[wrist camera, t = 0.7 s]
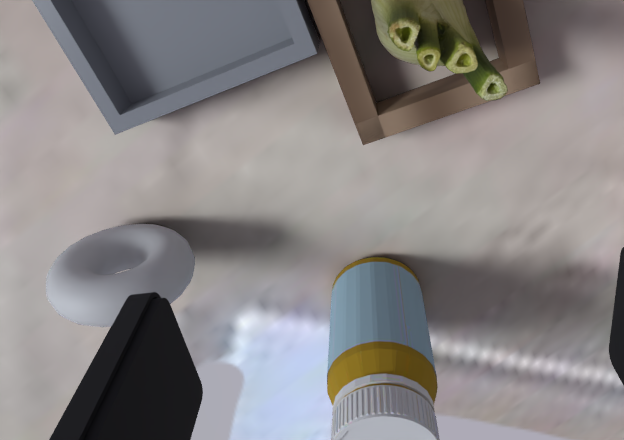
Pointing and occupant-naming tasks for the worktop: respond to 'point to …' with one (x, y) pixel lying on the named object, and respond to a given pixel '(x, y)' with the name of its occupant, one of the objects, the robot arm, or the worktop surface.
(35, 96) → the worktop surface
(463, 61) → the fennel bulb
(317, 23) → the holder
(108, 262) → the donut
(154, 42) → the tray
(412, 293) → the bottle
